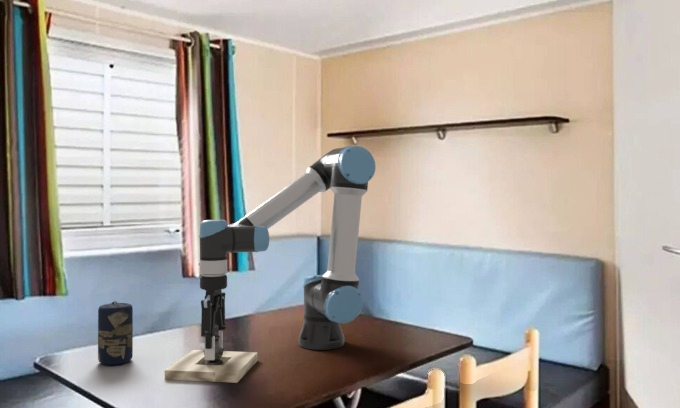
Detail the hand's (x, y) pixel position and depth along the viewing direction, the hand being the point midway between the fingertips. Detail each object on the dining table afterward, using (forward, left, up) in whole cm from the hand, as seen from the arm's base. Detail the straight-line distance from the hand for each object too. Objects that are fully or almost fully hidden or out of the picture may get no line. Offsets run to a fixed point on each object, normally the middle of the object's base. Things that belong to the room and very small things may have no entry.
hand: (213, 356), depth 161 cm
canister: (+31, -3, -4) cm, 31 cm away
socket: (0, 0, -4) cm, 4 cm away
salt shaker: (0, 0, -2) cm, 2 cm away
